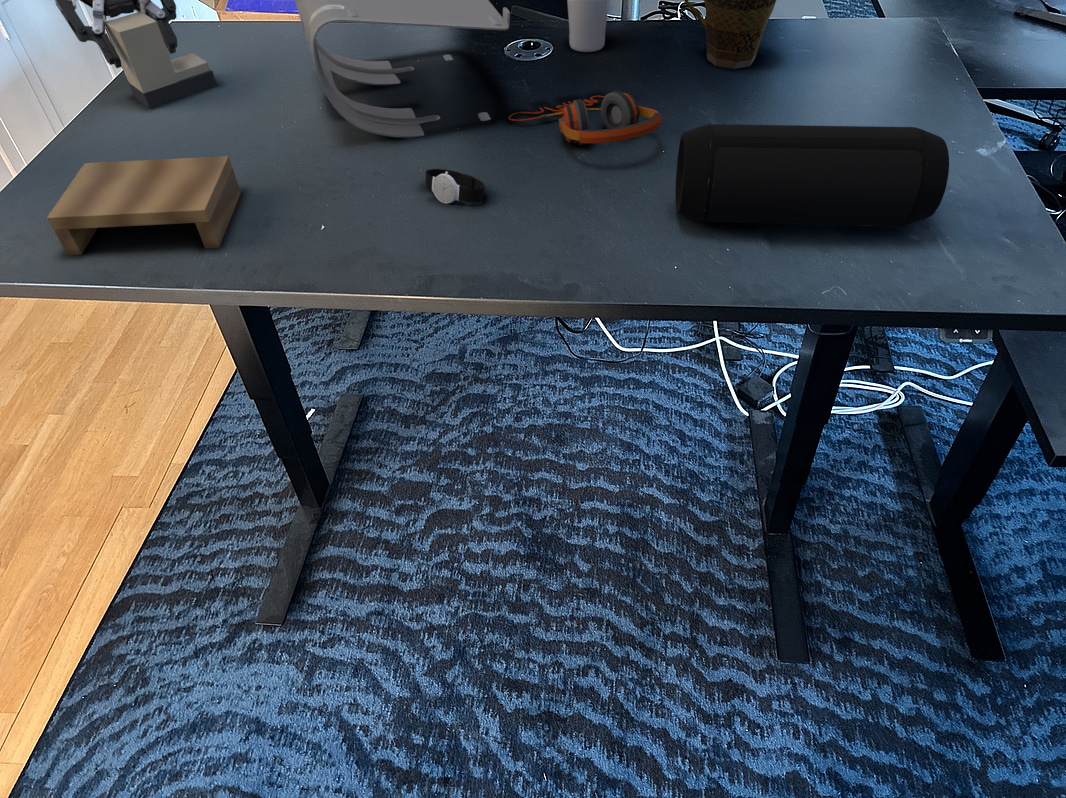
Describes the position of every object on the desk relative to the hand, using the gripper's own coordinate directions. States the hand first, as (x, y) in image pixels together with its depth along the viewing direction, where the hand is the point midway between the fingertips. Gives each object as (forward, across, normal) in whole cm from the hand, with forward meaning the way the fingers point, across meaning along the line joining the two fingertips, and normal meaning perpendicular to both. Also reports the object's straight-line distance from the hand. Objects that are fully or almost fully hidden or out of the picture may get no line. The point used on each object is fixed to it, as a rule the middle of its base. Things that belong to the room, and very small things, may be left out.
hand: (146, 57), depth 102 cm
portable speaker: (+56, +45, -47) cm, 86 cm away
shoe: (+3, +2, +6) cm, 7 cm away
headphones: (+36, +40, -27) cm, 60 cm away
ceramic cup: (+32, +69, -23) cm, 80 cm away
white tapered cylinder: (+21, +57, -12) cm, 62 cm away
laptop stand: (+19, +27, -10) cm, 35 cm away
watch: (+37, +18, -28) cm, 50 cm away
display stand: (+26, -10, -17) cm, 32 cm away
